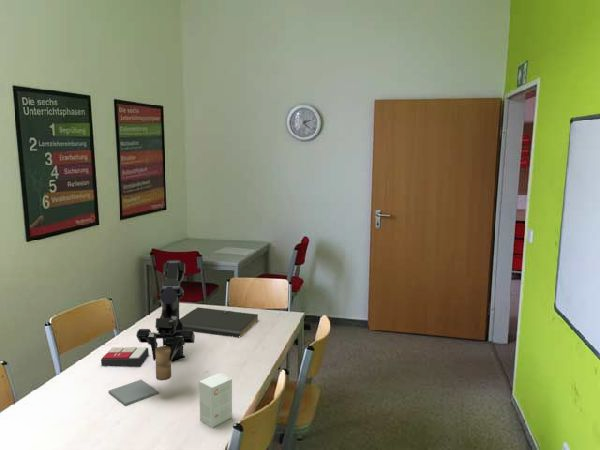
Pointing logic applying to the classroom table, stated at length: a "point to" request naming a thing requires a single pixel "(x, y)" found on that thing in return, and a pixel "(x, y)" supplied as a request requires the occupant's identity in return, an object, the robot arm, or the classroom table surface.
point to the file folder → (218, 321)
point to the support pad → (133, 392)
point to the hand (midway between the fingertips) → (162, 360)
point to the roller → (163, 363)
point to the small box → (215, 399)
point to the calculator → (125, 356)
